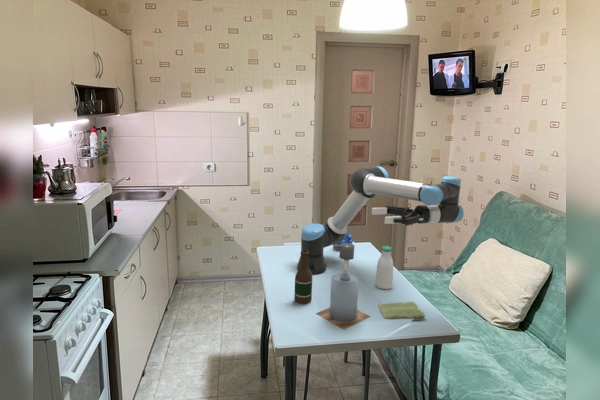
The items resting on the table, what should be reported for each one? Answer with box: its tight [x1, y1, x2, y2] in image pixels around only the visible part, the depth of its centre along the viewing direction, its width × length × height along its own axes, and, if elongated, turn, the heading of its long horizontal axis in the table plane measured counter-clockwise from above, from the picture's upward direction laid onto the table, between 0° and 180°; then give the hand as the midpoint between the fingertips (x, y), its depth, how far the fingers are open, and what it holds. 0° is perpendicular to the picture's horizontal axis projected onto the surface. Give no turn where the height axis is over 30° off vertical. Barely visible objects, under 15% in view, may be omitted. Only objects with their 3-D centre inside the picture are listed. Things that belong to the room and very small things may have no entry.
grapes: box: [334, 231, 354, 252], centre depth 250 cm, size 12×7×12 cm, turn 89°
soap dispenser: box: [329, 271, 360, 322], centre depth 172 cm, size 11×11×18 cm
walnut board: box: [315, 306, 371, 330], centre depth 174 cm, size 16×16×1 cm
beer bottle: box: [293, 250, 313, 305], centre depth 183 cm, size 8×8×24 cm
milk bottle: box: [375, 245, 394, 290], centre depth 202 cm, size 8×8×20 cm
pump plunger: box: [332, 243, 355, 275], centre depth 167 cm, size 6×8×12 cm
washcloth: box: [377, 301, 426, 322], centre depth 178 cm, size 13×18×3 cm
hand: (378, 215), depth 171 cm, fingers open, 13 cm apart
